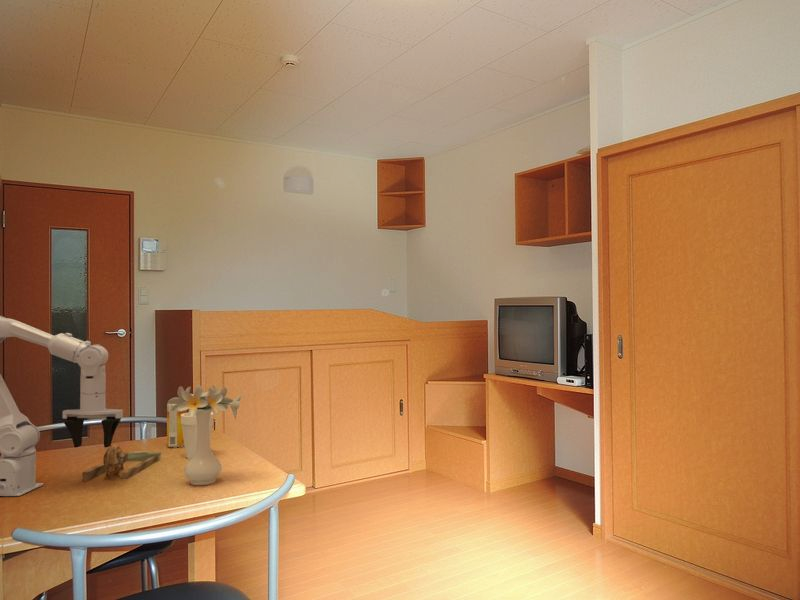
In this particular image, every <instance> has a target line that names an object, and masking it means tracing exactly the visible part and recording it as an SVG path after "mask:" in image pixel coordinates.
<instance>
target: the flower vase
mask: <svg viewBox="0 0 800 600" xmlns="http://www.w3.org/2000/svg"><path fill="white" fill-rule="evenodd" d="M191 388H192V387H191V386H188V387H187V388H186V389H185V390H184V387H183V386H181V385H180V386H178V389H177V396H178V397H177V396H175V397H172V398H170V399H169V400H168V401H167V404H176V405H174V406H173V407H172V409H171V411H174V410H175V409H176V408H177V410H178V411H184V410H187V411H188V412H189V415H190V417H194V416H195V415H196V418H197V443H196V449H195V452H194V454H193V456H192V458H191V459H188V461H187V462H186V464H185V465H184V467H183V468H184V469H183V474H184V476H185V477H186V478H187V479H188V480H190V481H189V482H190V484H191V485H193V486H207V485H212V484H213V483H215V482H216V478H217V477H218V476H219V475H220V473H221V472H222V470H223V467H222V463H221V461H220V460H219V458H217V457H216V456H215V455H214V453H213V450H212V448H211V447H212V446H211V438H210V439H209V421H210V415H211V412H212V411H213V412H214V414H216V415H218V414H219V411H222V412H227V410H228V409H229V407H228V406H230V409H231V411H232V413H233V416H234V419H235V421H236V420H237V414H238V409H239V408H240V405H241V399H242V396H243V393H244V392H243V391H241V392H240V393H239V395H238V396H237V397H236V398H235V399H234V400H233V398H231V397H229V396H228V397H227V394H228V389H227V387H226V386H223V387H221V388H220V390H219V388H218V387H217V386H216V385H215V384H213V385H212V387H210V386H209V387H208V391H204V388H203V387H202V386H201V385H196V387H195V391H194V393H191Z"/></svg>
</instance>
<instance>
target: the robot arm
mask: <svg viewBox="0 0 800 600" xmlns="http://www.w3.org/2000/svg"><path fill="white" fill-rule="evenodd" d="M11 337H15V338H18V339H21V340H24V341H26V342H29V343H32V344H36V345H40V346H43V347H45V348H47V349H48V352H49V353H50V355H52V356H55V357H57V358H60V359H63V360H66V361H69V362H71V363H75V364H77V365H78V366H79V367H80V380H79V381H80V383H79V385H80V388H79V389H80V391H79V392H80V394H79V395H80V397H79V402H80V403H79V404H80V405H79V407H80V408H78V409H64V410H62V419H66V420H64V421H63V424H64V425H65V427H66V429H67V431H68V433H69V434H70V436H71V440H72V443H73V447H74V448H79V447H81V446H82V444H83V427H84V422H85V419H88V418H89V419H101V425H102V430H103V447H104V448H109V447H110V446H112V442H113V439H114V435H115V432H116V430H117V428H118V426H119V424H120V422H121V421H122V418H124V409H115V408H106V402H107V401H106V398H107V397H106V395H107V394H106V392H107V391H106V390H107V388H106V385H107V384H106V383H107V382H106V381H107V375H106V363H107V362H108V360H109V355H110V354H109V352H108V350H107V349H106V348H105V346H102V345H101V344H92V342H91V341H89V340H85V341H84V340H82V339H80V338H75V337H74V336H73V334H72V333H69V332H65V333H63V332H61V333H58V334H55V335H53V334H51V333H48V332H46V331H43V330H42V329H39V328H36V327H35V326H34V327H33V326H31V325H28V324H27V323H24V322H21V321H19V320H16V319H13V318H9V317H7V318H6V317H4V316H3V315H0V344H1V343H2V342H3V341H4V340H5V339H6V338H11ZM91 344H92V345H91ZM40 437H41V432H40V430H39V428H38V427H37V426H36V425H34V424H33V423H32V422H31V421H30V419H29V417H28V416H26V415H25V414H24V413H22V412H20V410H19V407H18V405H17V404H16V402H15V400H14V397H13V395H12V394H11V392H10V389H9V388H8V386H7V384H6V382H5V380H4V378H3V376H2V374H1V373H0V454H1V456H0V497H20V496H22V495H24V494H27V493H29V492H31V491H33V490H36V489H38V488H39V487H42V486H44V483H43V482H36V475H37V473H36V472H37V469H36V468H37V467H36V466H37V463H36V461H37V460H36V459H37V456H36V455H37V449H36V448H35V447H36V446H35V445H37V444H38V442H39V440H40Z"/></svg>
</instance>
